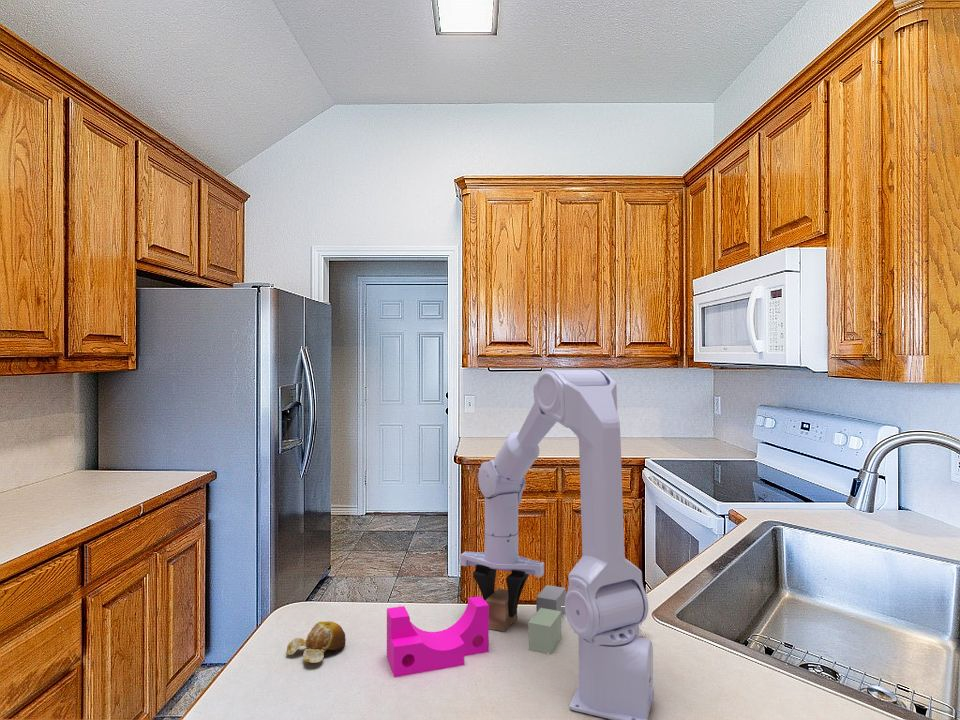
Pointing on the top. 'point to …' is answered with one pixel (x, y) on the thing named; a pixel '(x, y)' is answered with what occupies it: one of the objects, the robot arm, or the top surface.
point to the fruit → (319, 641)
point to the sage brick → (544, 630)
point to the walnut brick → (499, 610)
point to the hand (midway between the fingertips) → (501, 612)
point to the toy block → (436, 640)
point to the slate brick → (551, 599)
